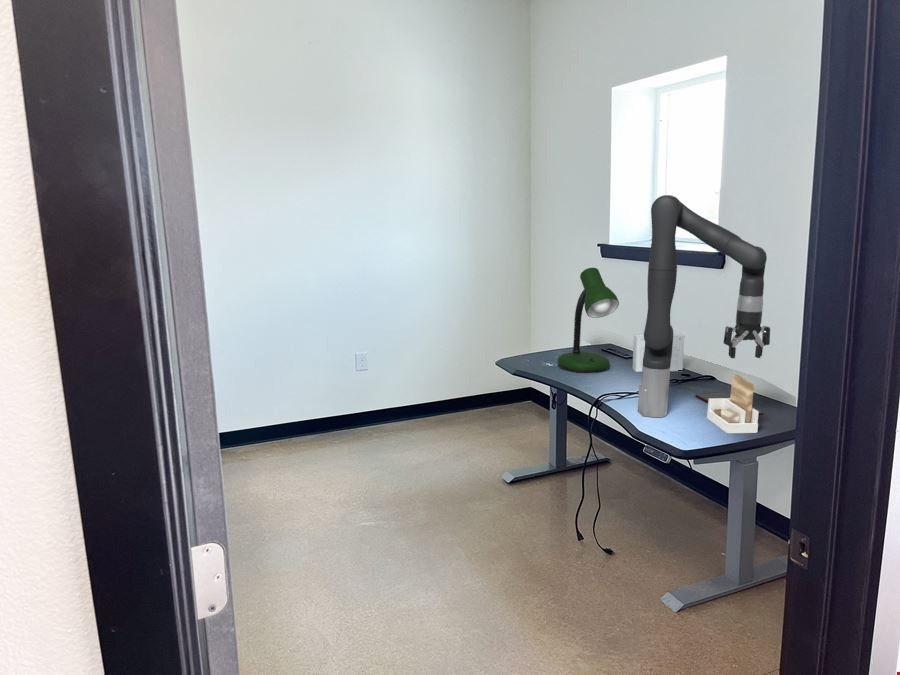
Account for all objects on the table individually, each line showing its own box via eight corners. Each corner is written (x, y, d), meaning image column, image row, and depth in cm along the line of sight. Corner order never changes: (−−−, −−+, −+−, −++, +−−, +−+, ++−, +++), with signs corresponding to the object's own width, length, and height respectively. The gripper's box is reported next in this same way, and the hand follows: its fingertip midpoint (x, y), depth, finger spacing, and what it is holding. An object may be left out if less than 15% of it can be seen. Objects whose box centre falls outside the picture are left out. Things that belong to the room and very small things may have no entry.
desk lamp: (628, 375, 279) (634, 270, 270) (580, 379, 273) (585, 272, 264) (593, 358, 308) (598, 263, 299) (549, 362, 302) (553, 264, 293)
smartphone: (735, 415, 227) (693, 393, 250) (735, 419, 227) (693, 397, 251) (766, 412, 229) (721, 391, 253) (765, 417, 230) (721, 395, 253)
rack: (727, 433, 211) (729, 412, 210) (706, 417, 226) (708, 398, 225) (757, 432, 212) (759, 412, 210) (735, 417, 227) (736, 398, 225)
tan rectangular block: (744, 430, 214) (748, 383, 210) (728, 419, 224) (732, 374, 221) (749, 430, 214) (754, 383, 210) (733, 419, 225) (737, 374, 221)
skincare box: (678, 368, 291) (680, 333, 288) (682, 371, 286) (685, 336, 283) (631, 368, 291) (633, 333, 287) (635, 372, 285) (637, 336, 282)
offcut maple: (728, 422, 213) (729, 413, 213) (720, 417, 218) (721, 408, 218) (738, 421, 214) (739, 413, 213) (730, 416, 219) (730, 408, 218)
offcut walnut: (719, 423, 220) (720, 412, 220) (713, 420, 224) (714, 409, 223) (728, 423, 221) (729, 412, 220) (722, 419, 224) (723, 408, 223)
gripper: (733, 311, 207) (729, 361, 210) (777, 310, 208) (772, 360, 211) (722, 307, 214) (718, 355, 218) (764, 306, 215) (760, 354, 218)
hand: (745, 357), depth 214 cm, fingers open, 8 cm apart
